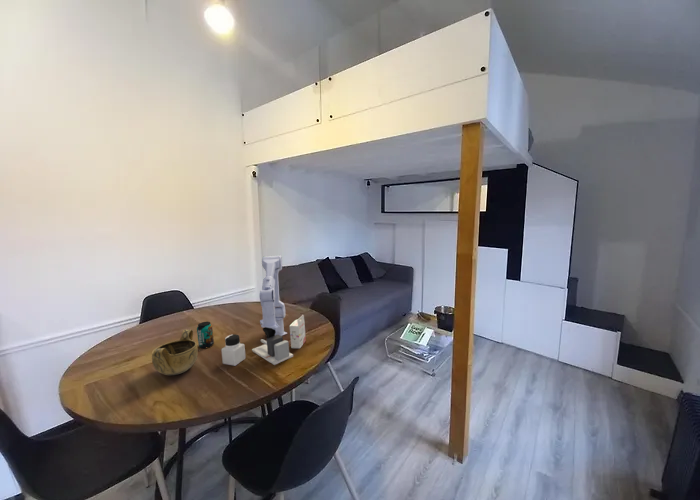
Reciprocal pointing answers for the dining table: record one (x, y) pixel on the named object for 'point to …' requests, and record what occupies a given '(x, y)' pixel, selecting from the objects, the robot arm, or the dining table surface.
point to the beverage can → (205, 334)
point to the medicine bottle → (233, 350)
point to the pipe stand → (280, 352)
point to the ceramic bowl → (176, 355)
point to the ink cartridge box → (297, 333)
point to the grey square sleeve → (272, 342)
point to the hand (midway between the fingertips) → (270, 341)
